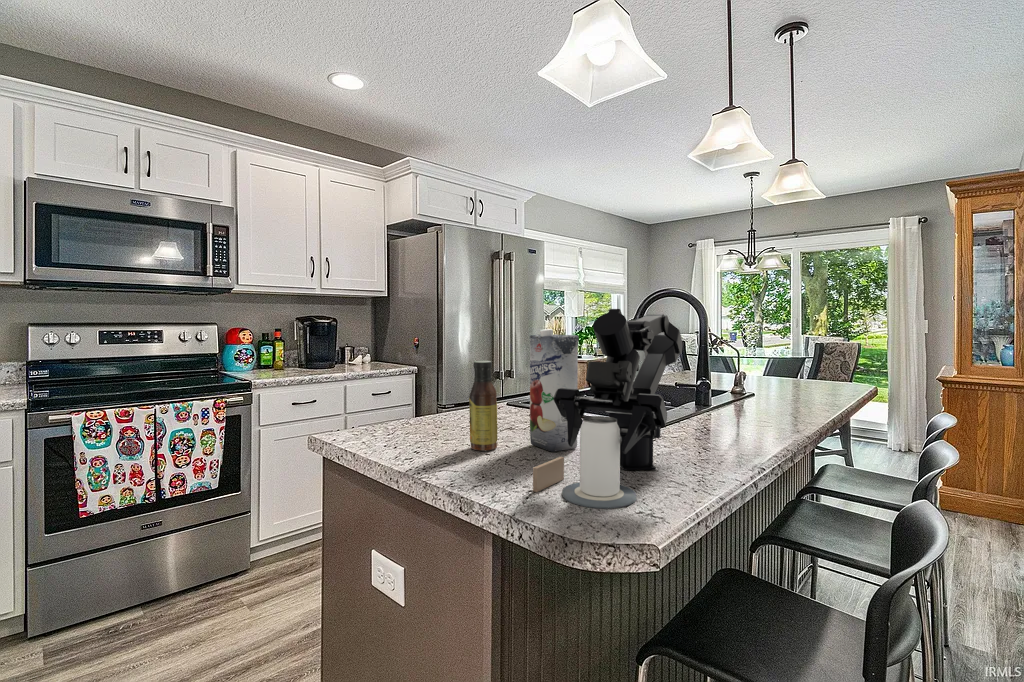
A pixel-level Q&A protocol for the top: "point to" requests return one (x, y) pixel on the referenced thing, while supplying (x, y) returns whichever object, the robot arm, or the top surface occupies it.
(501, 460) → the top surface
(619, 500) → the slate plate
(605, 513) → the top surface
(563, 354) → the juice carton
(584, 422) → the can
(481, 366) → the sauce bottle
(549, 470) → the brown wall
